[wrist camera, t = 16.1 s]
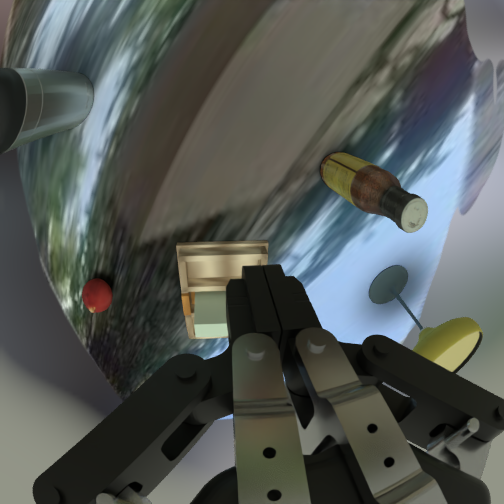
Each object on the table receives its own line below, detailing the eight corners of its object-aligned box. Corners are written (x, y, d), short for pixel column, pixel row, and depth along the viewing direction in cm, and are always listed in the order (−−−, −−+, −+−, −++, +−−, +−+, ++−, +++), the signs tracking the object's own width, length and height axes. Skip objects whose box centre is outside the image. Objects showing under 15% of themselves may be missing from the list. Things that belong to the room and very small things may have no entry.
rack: (187, 327, 54) (186, 343, 51) (176, 242, 44) (174, 256, 40) (259, 324, 56) (262, 339, 53) (267, 240, 46) (272, 253, 43)
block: (196, 300, 49) (195, 337, 41) (195, 287, 48) (194, 324, 40) (250, 298, 51) (258, 334, 43) (251, 286, 49) (259, 321, 41)
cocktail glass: (413, 299, 61) (465, 370, 40) (353, 324, 62) (398, 408, 40) (422, 241, 52) (496, 314, 31) (354, 265, 52) (420, 361, 31)
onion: (93, 293, 47) (80, 322, 40) (86, 269, 44) (71, 297, 37) (119, 295, 48) (109, 324, 41) (113, 270, 45) (101, 299, 38)
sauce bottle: (333, 194, 43) (402, 257, 27) (310, 168, 41) (378, 222, 24) (360, 168, 42) (440, 218, 25) (339, 141, 39) (422, 178, 22)
